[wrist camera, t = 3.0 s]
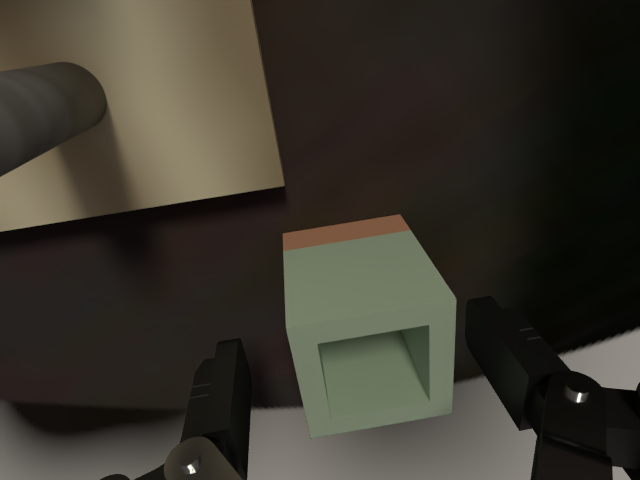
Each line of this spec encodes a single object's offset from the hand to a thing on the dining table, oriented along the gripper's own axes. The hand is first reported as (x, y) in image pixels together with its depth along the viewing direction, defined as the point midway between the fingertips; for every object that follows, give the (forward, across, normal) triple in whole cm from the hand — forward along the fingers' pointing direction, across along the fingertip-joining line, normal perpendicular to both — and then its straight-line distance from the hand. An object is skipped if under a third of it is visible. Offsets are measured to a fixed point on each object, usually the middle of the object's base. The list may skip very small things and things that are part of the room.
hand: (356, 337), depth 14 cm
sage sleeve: (+4, 0, 0) cm, 4 cm away
